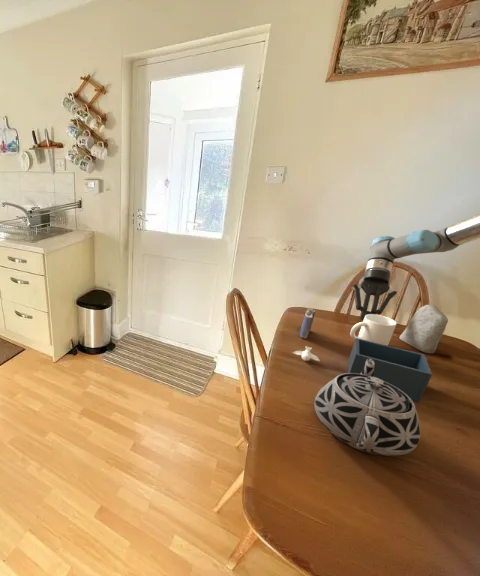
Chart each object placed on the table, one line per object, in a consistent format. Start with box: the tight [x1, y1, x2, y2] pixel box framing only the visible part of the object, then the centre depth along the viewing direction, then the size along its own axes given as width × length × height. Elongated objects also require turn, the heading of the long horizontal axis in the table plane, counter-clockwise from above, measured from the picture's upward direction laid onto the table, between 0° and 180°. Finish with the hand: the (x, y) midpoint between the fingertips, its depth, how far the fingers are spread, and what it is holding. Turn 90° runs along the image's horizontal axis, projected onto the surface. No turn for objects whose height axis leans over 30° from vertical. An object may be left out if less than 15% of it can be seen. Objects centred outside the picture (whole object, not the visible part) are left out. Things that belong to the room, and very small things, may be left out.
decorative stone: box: [398, 303, 449, 354], centre depth 107 cm, size 11×6×15 cm, turn 171°
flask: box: [299, 307, 316, 340], centre depth 117 cm, size 9×3×11 cm, turn 140°
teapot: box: [313, 359, 421, 457], centre depth 73 cm, size 19×31×15 cm, turn 142°
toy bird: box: [292, 345, 321, 362], centre depth 103 cm, size 8×5×5 cm, turn 51°
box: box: [347, 338, 433, 403], centre depth 91 cm, size 16×12×9 cm
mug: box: [349, 314, 397, 346], centre depth 109 cm, size 12×8×10 cm
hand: (365, 328), depth 114 cm, fingers closed
